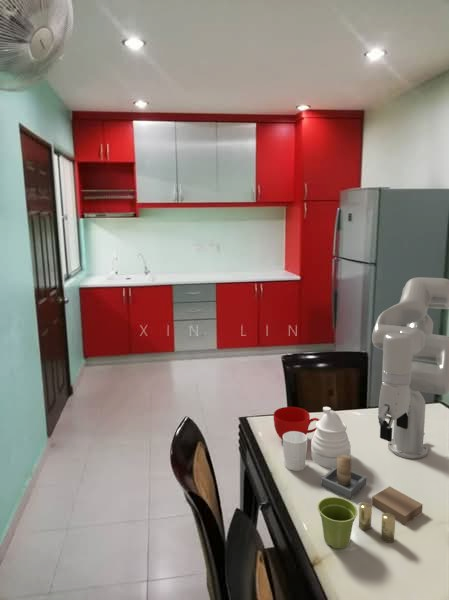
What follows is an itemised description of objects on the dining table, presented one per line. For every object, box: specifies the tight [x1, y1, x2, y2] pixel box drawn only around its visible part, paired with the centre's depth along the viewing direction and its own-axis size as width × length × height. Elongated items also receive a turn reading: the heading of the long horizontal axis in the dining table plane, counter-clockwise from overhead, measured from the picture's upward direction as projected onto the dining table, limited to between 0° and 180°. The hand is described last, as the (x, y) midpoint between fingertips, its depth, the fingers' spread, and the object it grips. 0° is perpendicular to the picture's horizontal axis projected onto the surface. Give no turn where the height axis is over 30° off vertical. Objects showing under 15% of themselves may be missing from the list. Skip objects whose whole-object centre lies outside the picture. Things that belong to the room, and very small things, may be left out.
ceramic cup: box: [272, 406, 320, 441], centre depth 153 cm, size 13×17×10 cm
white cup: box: [282, 431, 308, 472], centre depth 137 cm, size 8×8×10 cm
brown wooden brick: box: [371, 485, 423, 526], centre depth 116 cm, size 8×10×3 cm
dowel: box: [337, 455, 352, 487], centre depth 126 cm, size 4×4×8 cm
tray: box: [320, 466, 367, 500], centre depth 127 cm, size 10×10×2 cm
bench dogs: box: [358, 502, 396, 544], centre depth 107 cm, size 3×9×6 cm, turn 45°
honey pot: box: [310, 406, 352, 469], centre depth 141 cm, size 13×13×18 cm
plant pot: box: [317, 496, 358, 549], centre depth 104 cm, size 9×9×9 cm
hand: (394, 433), depth 121 cm, fingers open, 9 cm apart
